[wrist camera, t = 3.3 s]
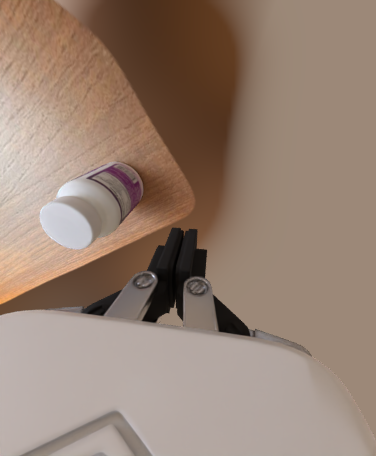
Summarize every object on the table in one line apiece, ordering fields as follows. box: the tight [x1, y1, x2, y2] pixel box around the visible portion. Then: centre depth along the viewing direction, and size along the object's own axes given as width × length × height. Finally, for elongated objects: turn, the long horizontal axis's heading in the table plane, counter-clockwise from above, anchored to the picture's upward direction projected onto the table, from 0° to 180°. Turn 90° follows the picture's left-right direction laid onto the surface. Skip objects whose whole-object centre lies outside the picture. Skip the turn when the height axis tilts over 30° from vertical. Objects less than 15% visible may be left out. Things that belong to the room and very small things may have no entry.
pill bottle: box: [40, 162, 143, 249], centre depth 18 cm, size 5×5×10 cm
